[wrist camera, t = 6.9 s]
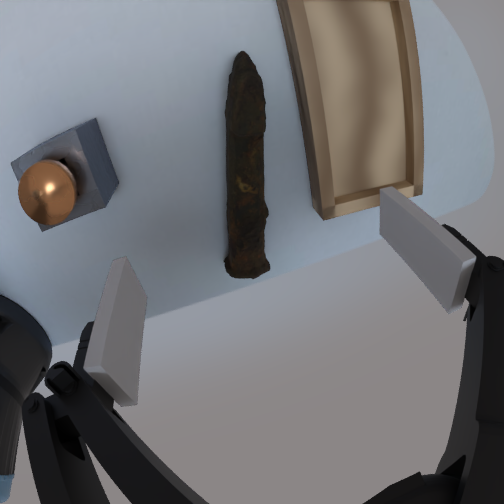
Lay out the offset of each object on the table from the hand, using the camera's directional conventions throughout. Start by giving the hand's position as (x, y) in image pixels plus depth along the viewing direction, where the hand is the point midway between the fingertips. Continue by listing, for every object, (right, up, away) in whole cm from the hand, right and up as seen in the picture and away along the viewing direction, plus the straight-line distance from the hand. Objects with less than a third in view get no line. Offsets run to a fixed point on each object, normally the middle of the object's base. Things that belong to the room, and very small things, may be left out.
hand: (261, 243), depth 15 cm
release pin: (-15, +7, +7) cm, 18 cm away
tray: (+9, +13, +8) cm, 18 cm away
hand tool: (-2, +7, +11) cm, 13 cm away
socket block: (-15, +7, +7) cm, 18 cm away
